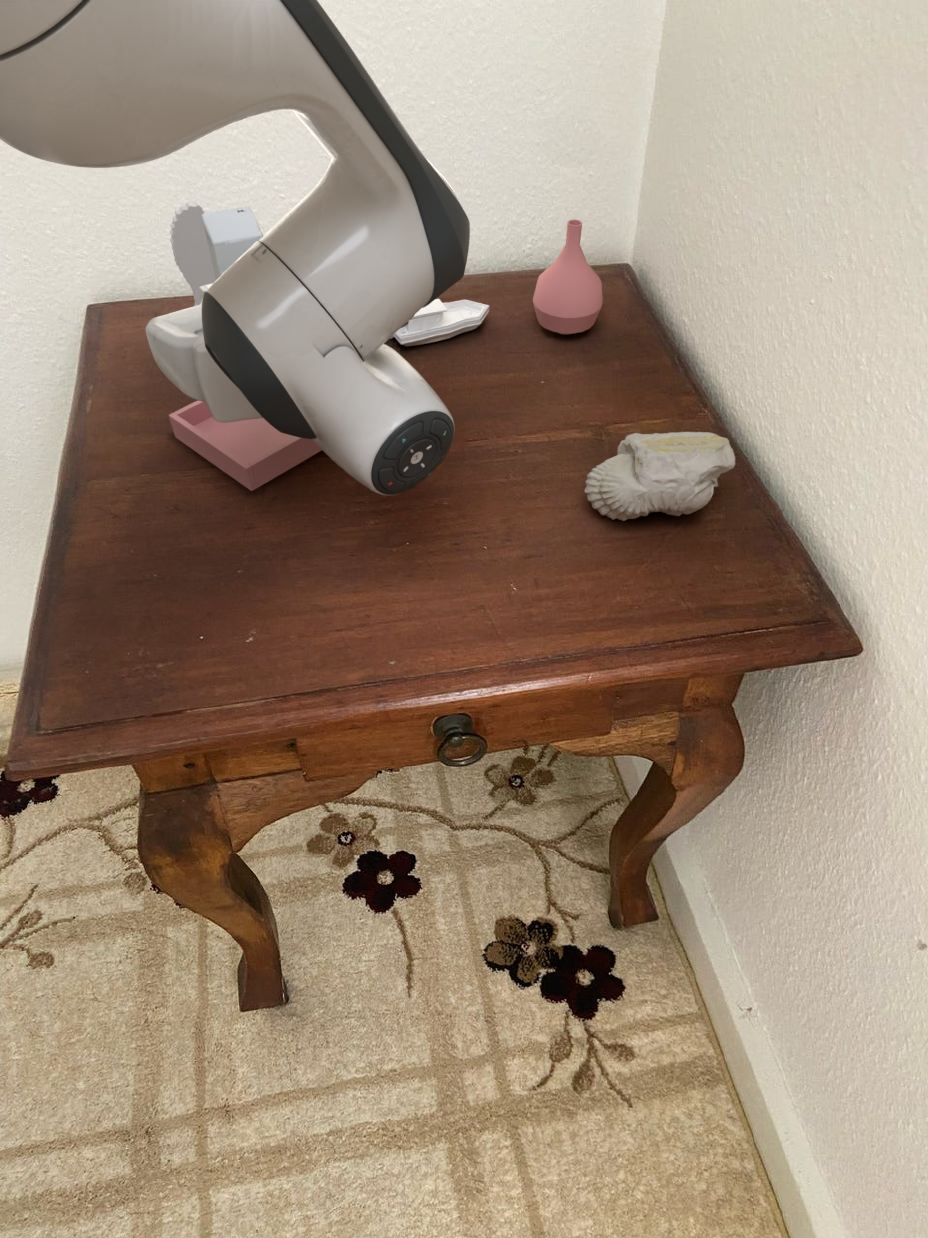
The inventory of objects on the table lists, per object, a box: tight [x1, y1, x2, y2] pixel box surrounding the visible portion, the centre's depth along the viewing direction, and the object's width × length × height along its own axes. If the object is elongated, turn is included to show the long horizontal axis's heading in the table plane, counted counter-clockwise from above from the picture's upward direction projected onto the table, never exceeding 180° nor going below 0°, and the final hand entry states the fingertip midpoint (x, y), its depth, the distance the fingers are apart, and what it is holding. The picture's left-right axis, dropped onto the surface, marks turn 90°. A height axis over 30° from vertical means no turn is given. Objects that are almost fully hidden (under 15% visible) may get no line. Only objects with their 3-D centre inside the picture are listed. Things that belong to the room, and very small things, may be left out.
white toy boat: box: [389, 298, 490, 347], centre depth 97 cm, size 6×12×3 cm, turn 112°
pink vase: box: [532, 218, 604, 335], centre depth 94 cm, size 8×8×12 cm
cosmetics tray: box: [168, 400, 323, 492], centre depth 85 cm, size 14×12×3 cm
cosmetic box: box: [201, 206, 264, 280], centre depth 75 cm, size 6×4×12 cm
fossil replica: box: [584, 431, 736, 522], centre depth 75 cm, size 12×8×10 cm
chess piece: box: [169, 200, 216, 306], centre depth 92 cm, size 10×10×15 cm
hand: (239, 283), depth 75 cm, fingers closed on cosmetic box, 5 cm apart
